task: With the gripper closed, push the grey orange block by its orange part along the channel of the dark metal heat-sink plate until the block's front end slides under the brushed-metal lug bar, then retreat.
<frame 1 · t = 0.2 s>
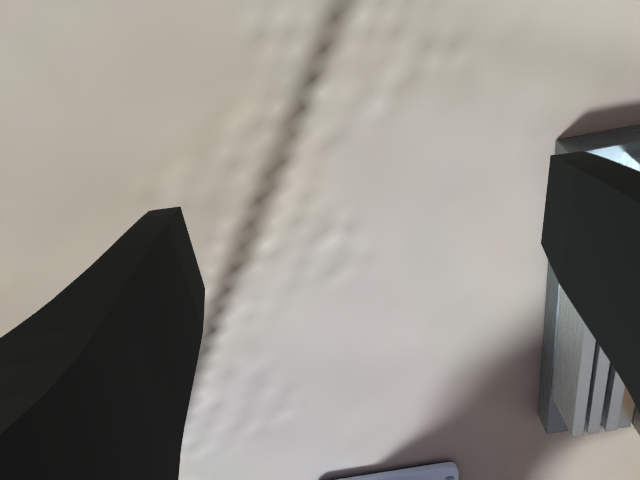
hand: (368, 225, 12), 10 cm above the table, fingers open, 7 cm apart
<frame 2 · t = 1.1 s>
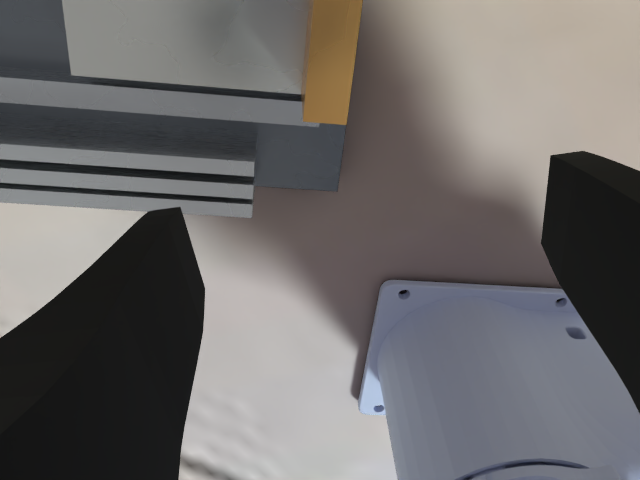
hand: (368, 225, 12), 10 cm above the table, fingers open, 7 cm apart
grey orange block: (206, 21, 16), point 3 cm above the table, slide at 0.0 cm
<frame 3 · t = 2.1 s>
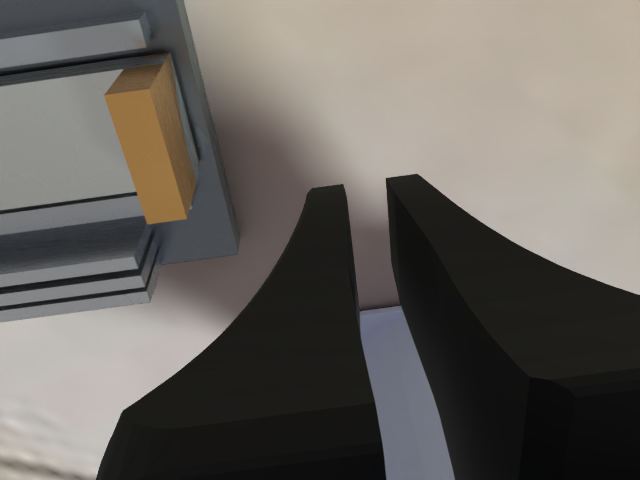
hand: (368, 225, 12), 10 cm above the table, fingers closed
grey orange block: (49, 151, 18), point 3 cm above the table, slide at 0.0 cm
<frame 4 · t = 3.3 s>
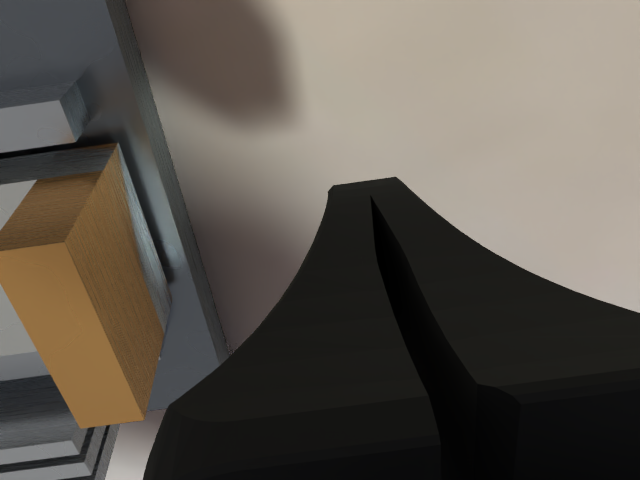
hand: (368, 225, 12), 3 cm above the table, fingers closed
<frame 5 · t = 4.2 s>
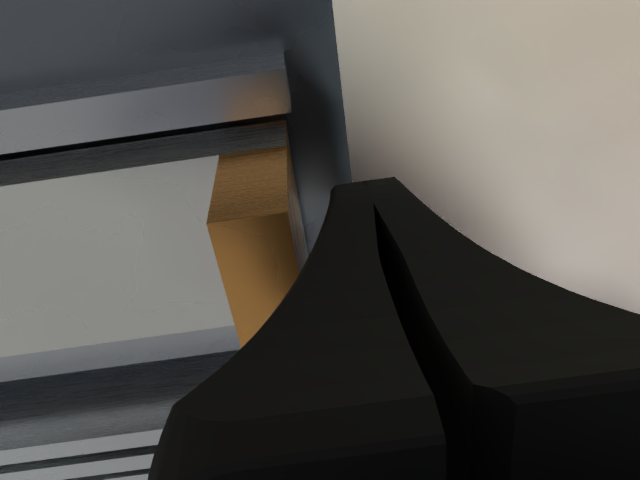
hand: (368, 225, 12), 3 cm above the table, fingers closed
grey orange block: (95, 283, 11), point 3 cm above the table, slide at 0.7 cm, touching gripper
heatsink plate: (13, 215, 14), on the table
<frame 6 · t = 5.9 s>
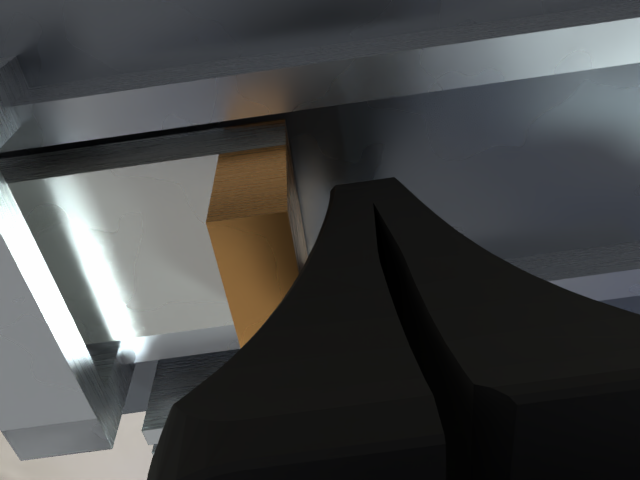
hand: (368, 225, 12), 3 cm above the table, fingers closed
grey orange block: (94, 281, 11), point 3 cm above the table, slide at 8.3 cm, touching gripper
heatsink plate: (331, 169, 14), on the table
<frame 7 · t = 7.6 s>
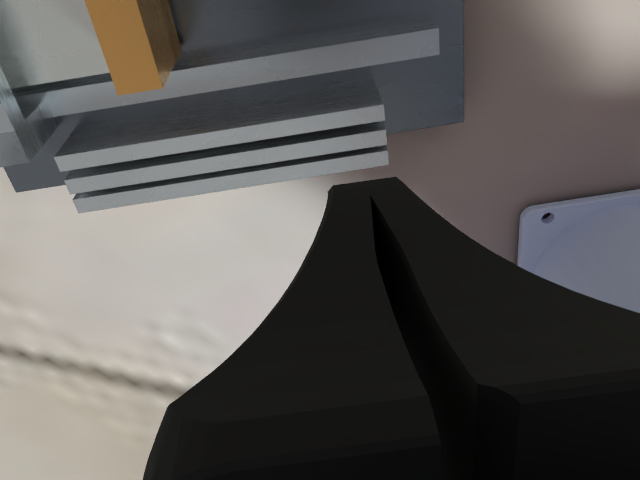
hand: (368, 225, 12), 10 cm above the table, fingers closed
grey orange block: (5, 18, 16), point 3 cm above the table, slide at 8.3 cm
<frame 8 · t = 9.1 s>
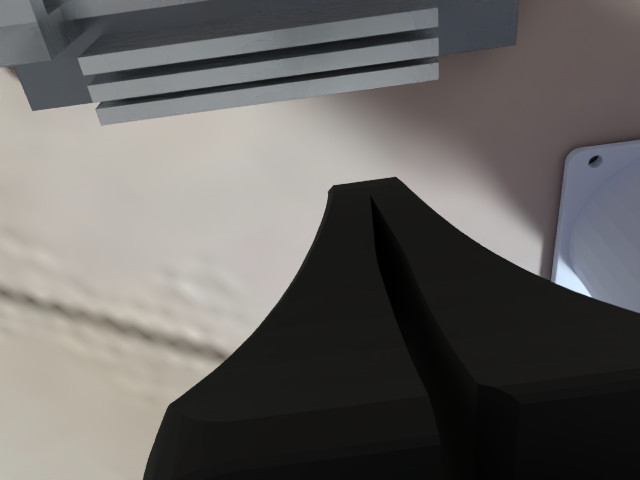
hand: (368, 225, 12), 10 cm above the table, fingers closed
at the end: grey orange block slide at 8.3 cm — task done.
